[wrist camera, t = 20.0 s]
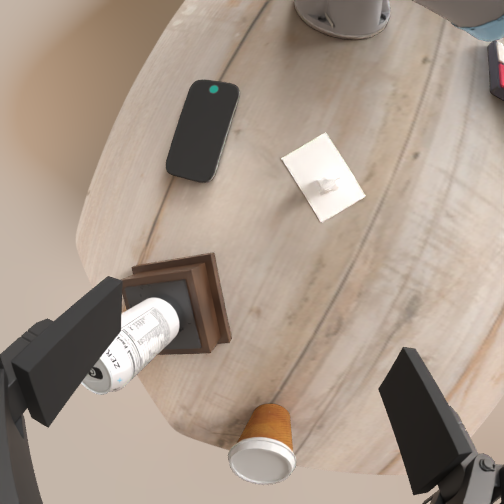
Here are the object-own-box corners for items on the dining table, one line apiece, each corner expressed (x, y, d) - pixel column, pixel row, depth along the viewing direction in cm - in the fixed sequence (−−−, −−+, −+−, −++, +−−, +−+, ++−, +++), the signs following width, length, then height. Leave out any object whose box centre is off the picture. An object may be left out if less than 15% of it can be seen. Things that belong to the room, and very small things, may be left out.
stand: (136, 265, 44) (109, 274, 37) (214, 252, 41) (195, 261, 34) (156, 342, 45) (134, 362, 38) (231, 338, 43) (218, 361, 36)
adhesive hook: (322, 198, 38) (324, 197, 35) (312, 181, 38) (313, 179, 35) (342, 187, 37) (345, 185, 34) (331, 170, 37) (334, 167, 34)
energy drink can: (138, 294, 36) (59, 335, 22) (180, 296, 35) (109, 347, 21) (144, 336, 37) (75, 391, 23) (184, 341, 36) (123, 406, 22)
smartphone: (242, 84, 37) (210, 185, 39) (243, 86, 37) (212, 185, 40) (193, 77, 37) (162, 172, 40) (195, 80, 38) (164, 173, 41)
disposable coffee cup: (285, 388, 43) (278, 439, 31) (308, 428, 43) (306, 479, 31) (233, 404, 45) (213, 452, 33) (258, 441, 45) (245, 490, 33)
